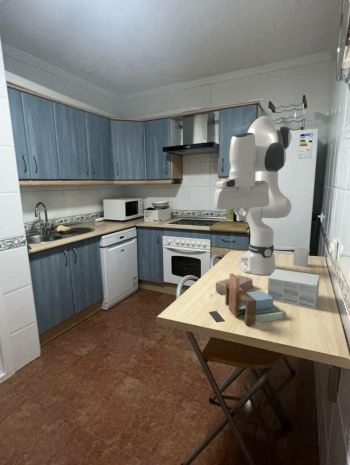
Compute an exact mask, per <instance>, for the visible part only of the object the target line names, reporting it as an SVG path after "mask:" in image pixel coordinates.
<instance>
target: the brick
mask: <svg viewBox="0 0 350 465" xmlns="http://www.w3.org/2000/svg"><path fill="white" fill-rule="evenodd" d="M235 275H236V274H235ZM236 276H237V277H238V278H240V282H239V287H240V288H241V289H242V290H244V291H245V292H246V291H247V290H250V289H252V288H253V286H254V285H253V279H252V278H251V277H249V276H245V275H240V274H237V275H236ZM229 281H230V278H227V279H224V280H219V281H217V282H215V291H216V292H217V293H219V294H221V295H224V296H225V292H226V283H229Z"/></svg>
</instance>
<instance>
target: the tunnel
mask: <svg viewBox="0 0 350 465" xmlns="http://www.w3.org/2000/svg"><path fill="white" fill-rule="evenodd" d="M224 296H225V299H224V302H225V303H224V304H225V306H229V283H226V292H225V295H224ZM239 297H240V298H241V299H242V300H243V301H244V302H245V303H246V310H245V313H244V314H245V315H244V316H245V318H244V325H245V326H247V327H248V326H249V327H251V326H256V322H255V320H256V300H255V299H254V298H253V297H251V296H250V295H249V294H248V293H247V292H246V291H244V290H242V289H241V288H240V287H239Z"/></svg>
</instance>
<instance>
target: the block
mask: <svg viewBox="0 0 350 465" xmlns="http://www.w3.org/2000/svg"><path fill="white" fill-rule="evenodd" d="M246 293H248V294H249V295H250V296H251V297H253V298H254V299H255V300H256V311H260V310H267V309H273V304H274V301H273V298H272V297H271V296H269V295H268V293H266V292H265V291H263V290H256V291H249V292H246Z"/></svg>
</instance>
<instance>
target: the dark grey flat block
mask: <svg viewBox="0 0 350 465" xmlns="http://www.w3.org/2000/svg"><path fill="white" fill-rule="evenodd" d="M208 314H209V315H210V316H211V317H212V319H213V320H214V321H215V322H216V323H220V322H225V319H224V318H223V316H222V315H221V314H220V313H219V312H218V310H213V311H208Z"/></svg>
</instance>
